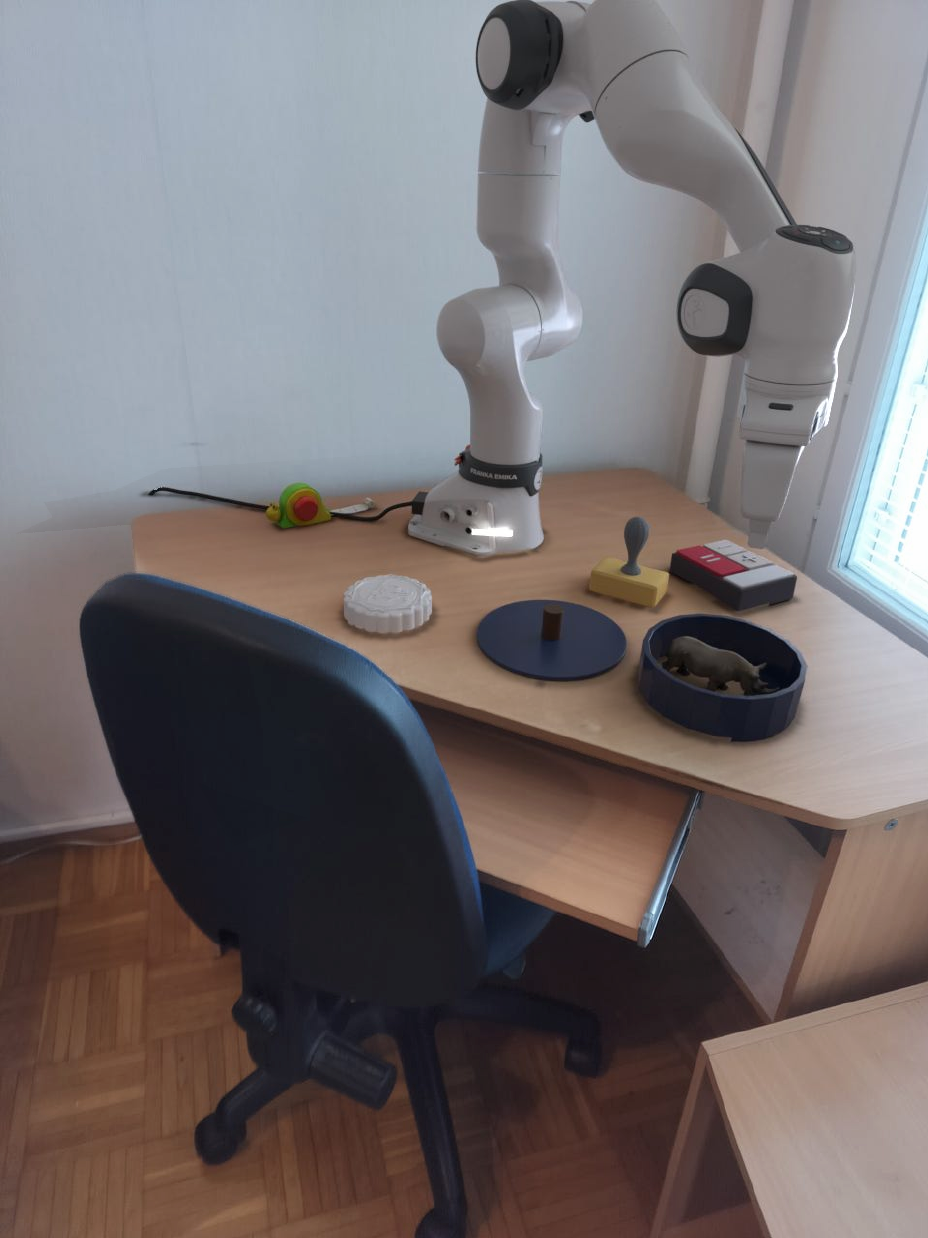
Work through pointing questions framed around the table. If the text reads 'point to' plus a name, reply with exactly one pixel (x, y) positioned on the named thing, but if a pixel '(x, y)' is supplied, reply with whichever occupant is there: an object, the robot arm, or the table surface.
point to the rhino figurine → (714, 666)
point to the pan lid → (551, 640)
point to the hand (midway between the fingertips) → (761, 529)
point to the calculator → (734, 574)
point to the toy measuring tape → (306, 507)
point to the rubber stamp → (630, 571)
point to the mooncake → (387, 604)
